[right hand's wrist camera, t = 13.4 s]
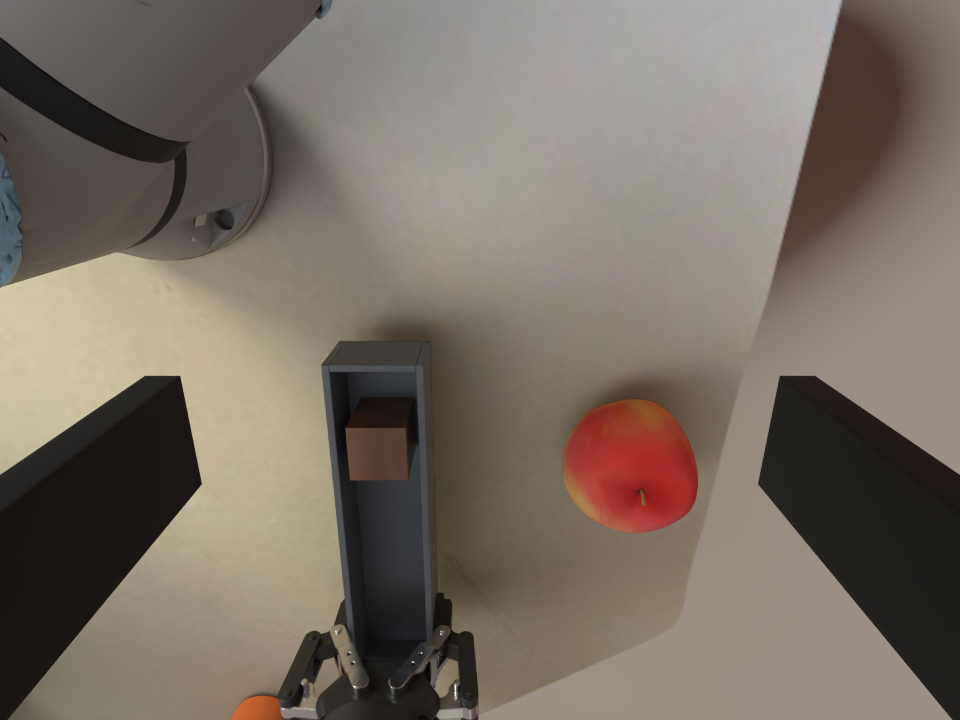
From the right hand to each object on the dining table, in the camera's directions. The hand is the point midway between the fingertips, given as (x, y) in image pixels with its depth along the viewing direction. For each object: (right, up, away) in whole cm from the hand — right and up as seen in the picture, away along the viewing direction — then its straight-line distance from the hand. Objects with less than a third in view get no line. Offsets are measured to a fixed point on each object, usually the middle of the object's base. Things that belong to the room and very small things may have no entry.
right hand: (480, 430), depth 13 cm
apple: (+11, -4, +34) cm, 36 cm away
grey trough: (-7, -10, +33) cm, 35 cm away
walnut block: (-7, -3, +30) cm, 31 cm away
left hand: (-7, -19, +36) cm, 41 cm away
